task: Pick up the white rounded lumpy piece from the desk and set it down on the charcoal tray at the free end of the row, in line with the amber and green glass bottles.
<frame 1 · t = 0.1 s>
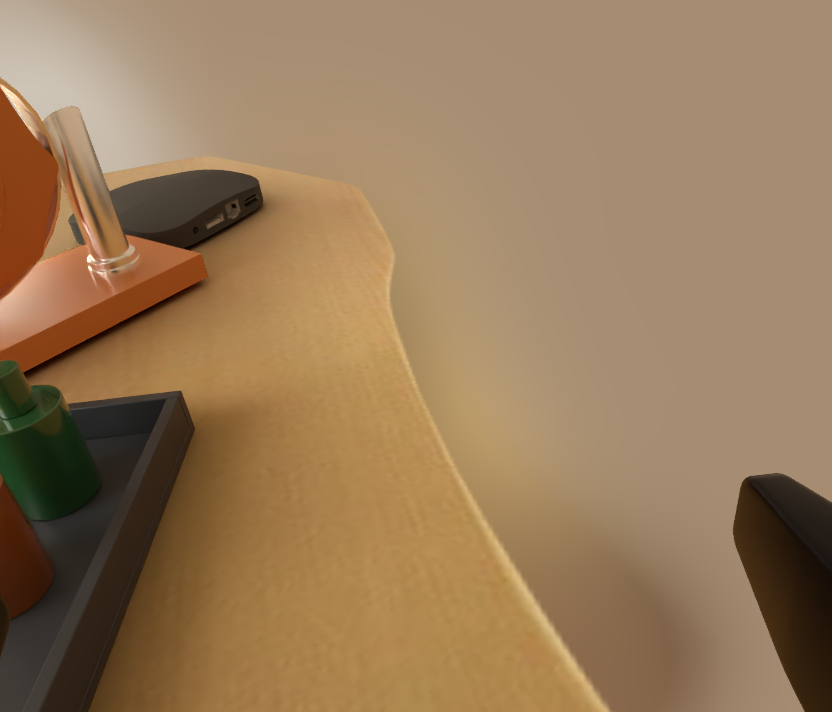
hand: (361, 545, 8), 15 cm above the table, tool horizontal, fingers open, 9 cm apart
media streaming box: (174, 224, 65), on the table
green bottle: (62, 493, 32), resting on tray
amber bottle: (7, 589, 27), resting on tray
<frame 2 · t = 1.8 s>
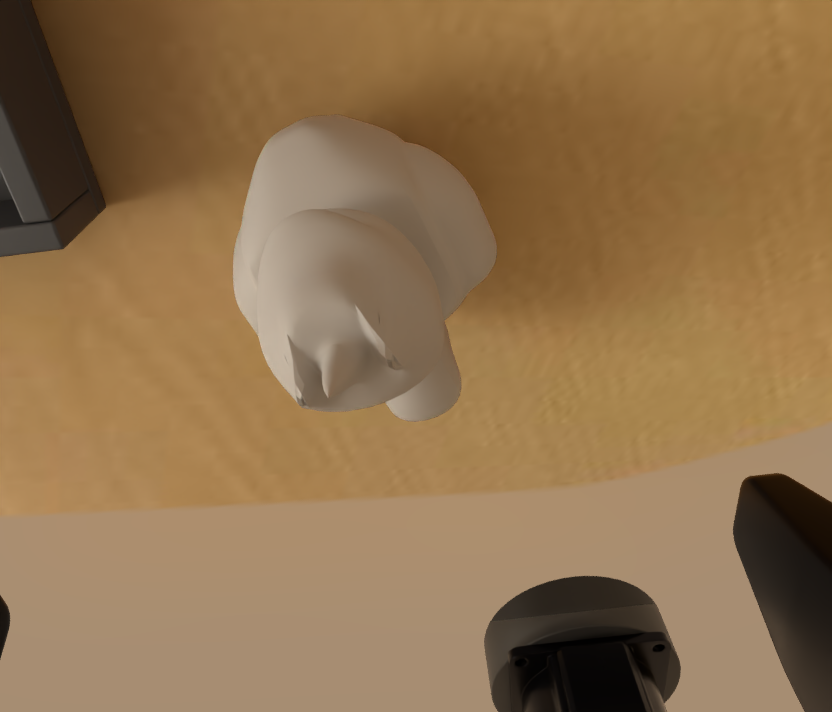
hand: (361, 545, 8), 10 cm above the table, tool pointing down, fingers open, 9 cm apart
white rounded lumpy piece: (370, 230, 16), on the table
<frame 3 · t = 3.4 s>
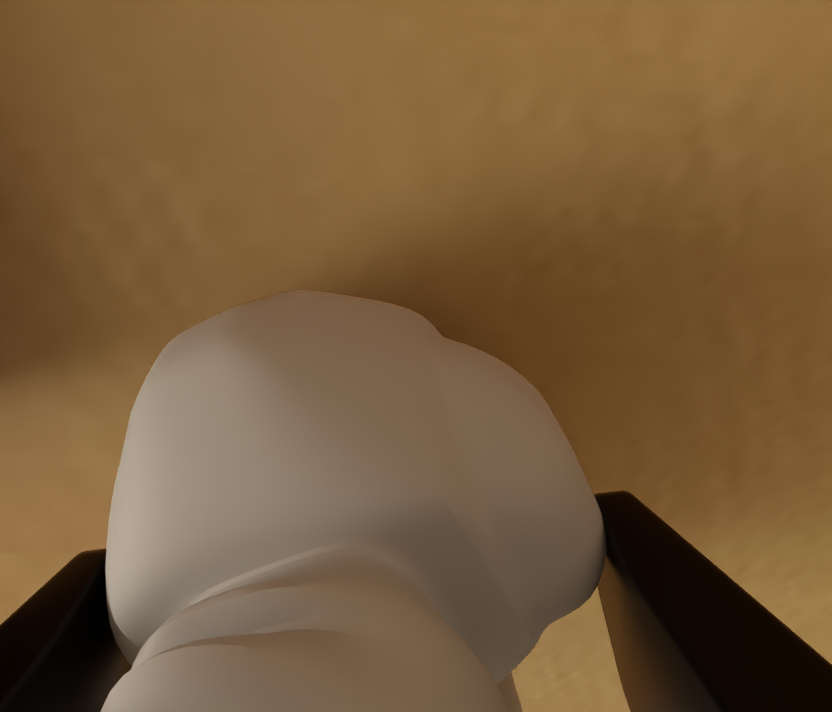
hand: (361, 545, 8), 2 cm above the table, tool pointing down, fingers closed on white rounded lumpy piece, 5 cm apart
white rounded lumpy piece: (367, 428, 10), on the table, touching gripper
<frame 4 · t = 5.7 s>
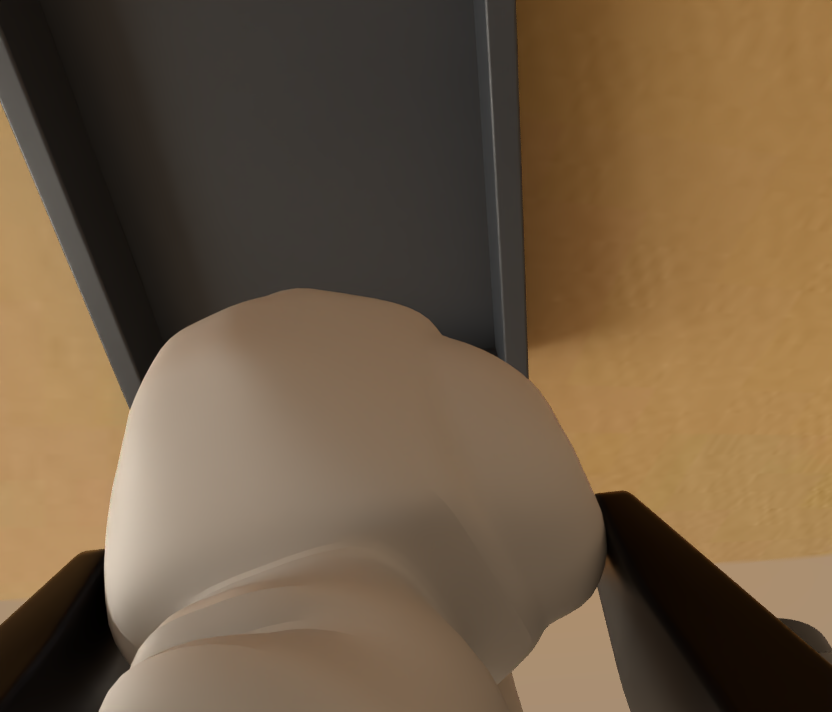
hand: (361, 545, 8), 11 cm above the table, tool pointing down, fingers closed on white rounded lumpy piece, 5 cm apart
white rounded lumpy piece: (366, 427, 10), point 9 cm above the table, touching gripper
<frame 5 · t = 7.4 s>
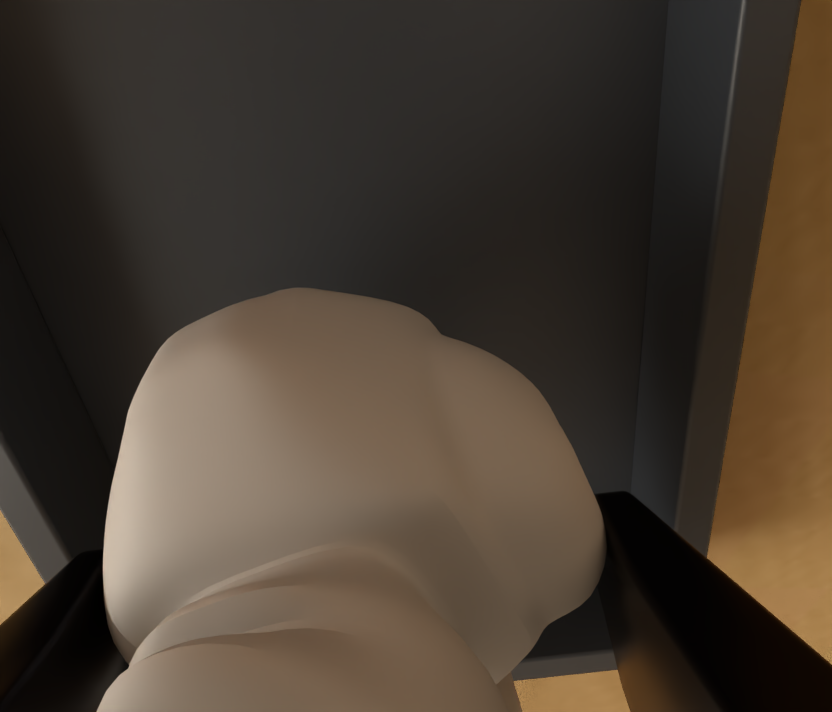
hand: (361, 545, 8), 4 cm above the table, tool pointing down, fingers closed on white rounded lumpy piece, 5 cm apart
white rounded lumpy piece: (366, 427, 10), point 2 cm above the table, touching gripper
when the fingers open (3 cm above the table, at t = 8.3 s): white rounded lumpy piece stays where it is, resting on tray.
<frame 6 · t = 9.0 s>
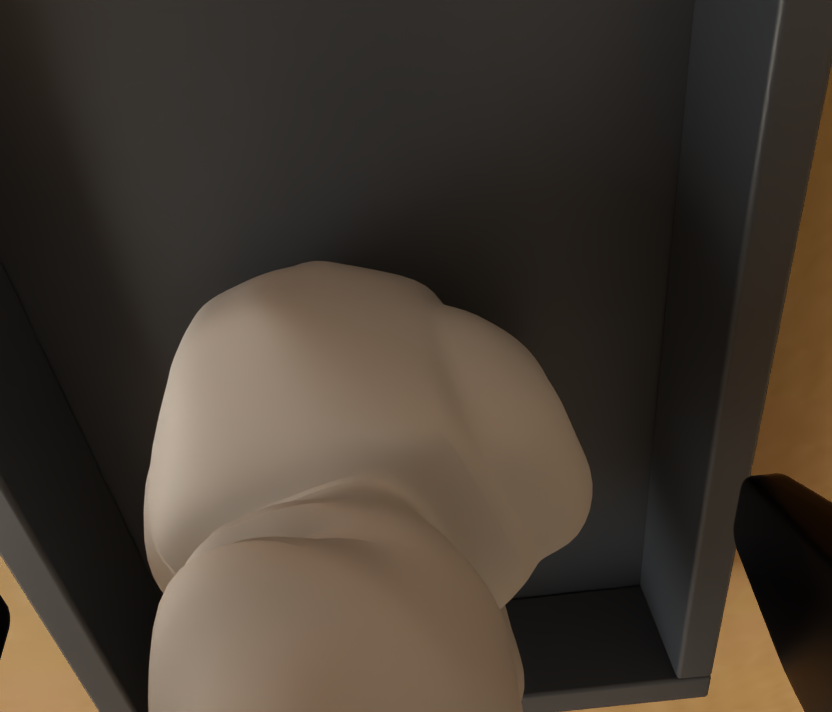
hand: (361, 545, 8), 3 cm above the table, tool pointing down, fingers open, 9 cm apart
white rounded lumpy piece: (375, 396, 11), resting on tray
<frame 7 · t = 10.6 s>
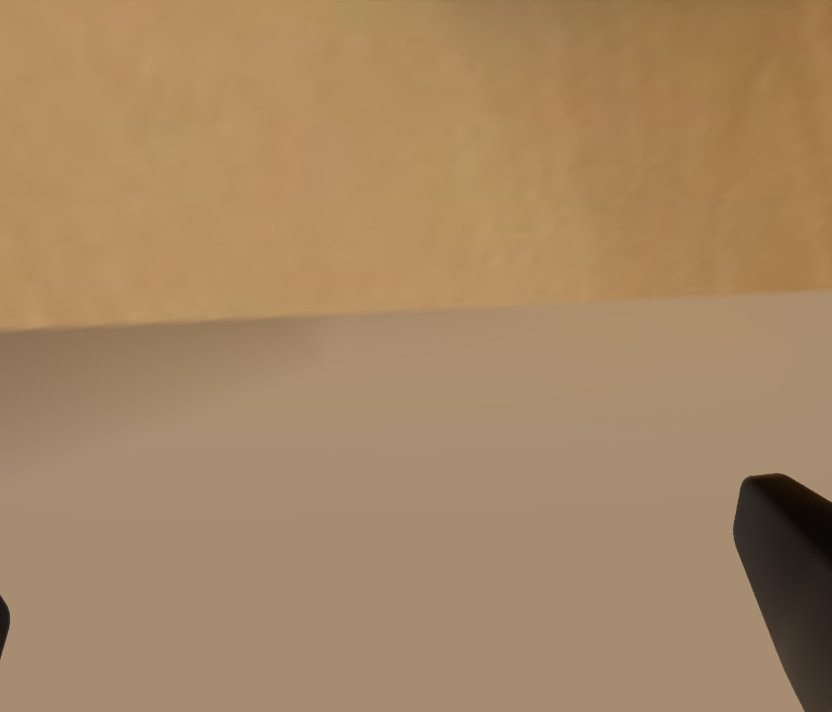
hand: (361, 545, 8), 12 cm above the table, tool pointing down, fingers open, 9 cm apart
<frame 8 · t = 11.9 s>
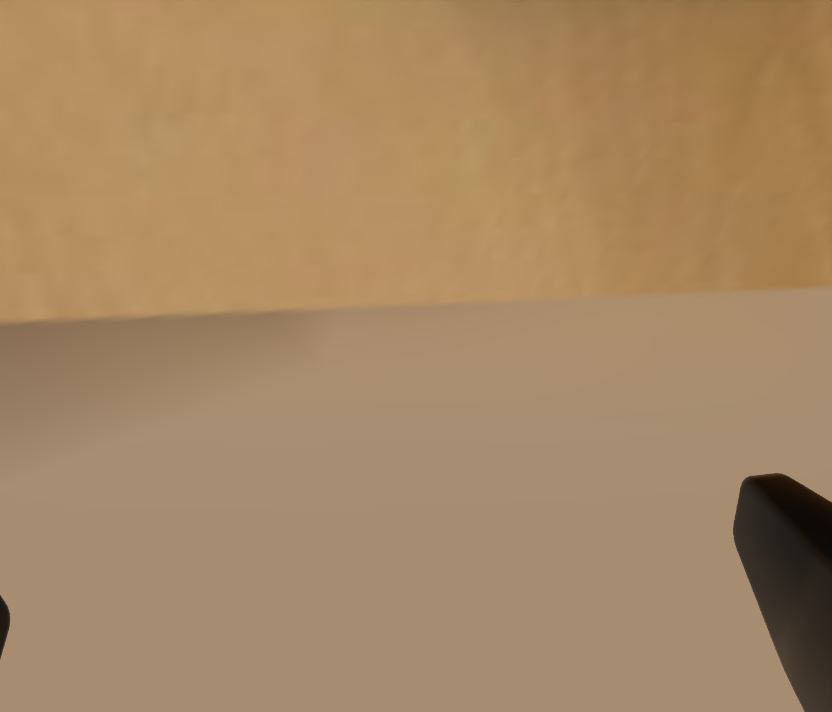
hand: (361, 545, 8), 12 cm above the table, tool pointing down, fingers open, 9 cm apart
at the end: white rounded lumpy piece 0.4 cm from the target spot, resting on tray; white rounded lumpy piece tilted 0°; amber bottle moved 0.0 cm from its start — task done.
